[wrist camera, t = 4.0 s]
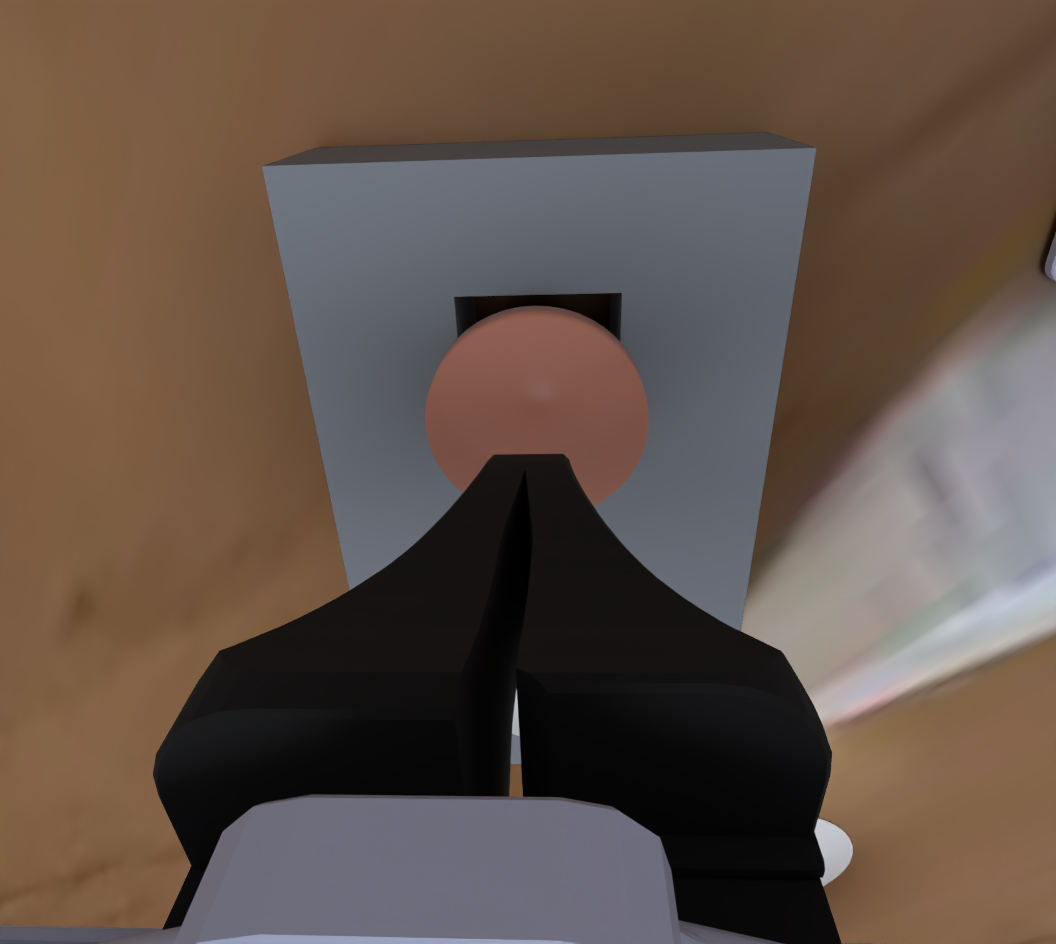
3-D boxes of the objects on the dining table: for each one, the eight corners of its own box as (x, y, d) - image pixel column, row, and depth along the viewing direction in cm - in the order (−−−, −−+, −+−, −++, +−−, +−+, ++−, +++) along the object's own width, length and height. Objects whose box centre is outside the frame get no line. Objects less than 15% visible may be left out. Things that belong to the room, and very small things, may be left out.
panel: (767, 132, 18) (816, 147, 15) (699, 680, 28) (719, 765, 25) (316, 147, 19) (261, 165, 15) (406, 679, 29) (385, 762, 25)
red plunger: (635, 265, 17) (654, 315, 14) (628, 438, 20) (643, 518, 16) (441, 269, 17) (412, 320, 14) (457, 440, 20) (436, 520, 16)
